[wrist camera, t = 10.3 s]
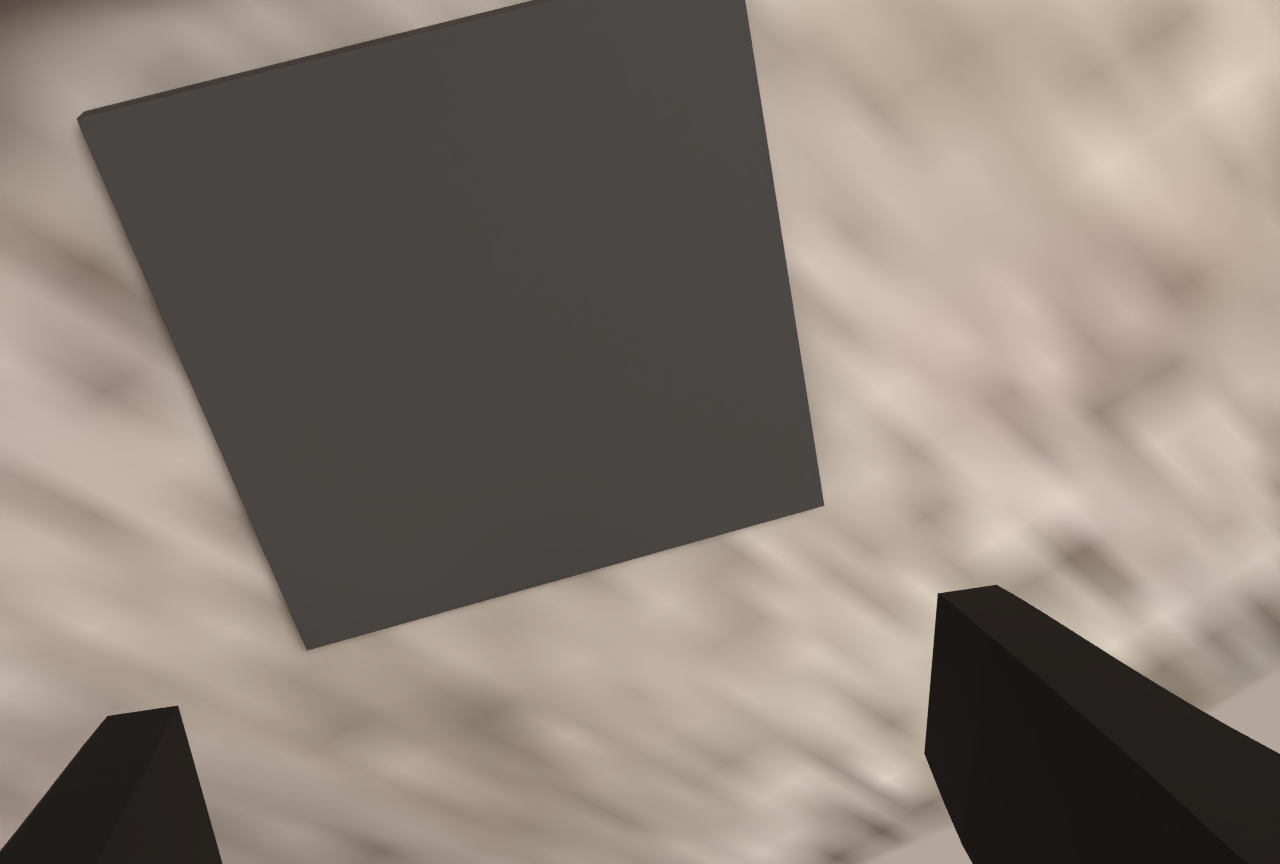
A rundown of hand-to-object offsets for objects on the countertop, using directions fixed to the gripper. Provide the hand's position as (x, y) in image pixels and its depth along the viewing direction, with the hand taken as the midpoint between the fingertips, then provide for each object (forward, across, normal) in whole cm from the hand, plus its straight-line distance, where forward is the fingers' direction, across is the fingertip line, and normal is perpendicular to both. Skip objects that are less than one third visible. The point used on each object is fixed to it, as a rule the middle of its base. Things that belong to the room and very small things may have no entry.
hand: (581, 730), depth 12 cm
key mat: (+10, 0, 0) cm, 10 cm away
